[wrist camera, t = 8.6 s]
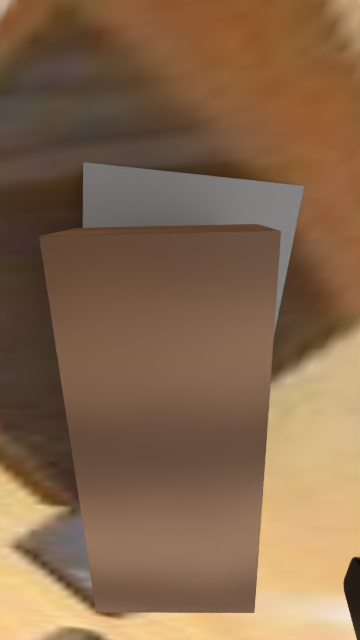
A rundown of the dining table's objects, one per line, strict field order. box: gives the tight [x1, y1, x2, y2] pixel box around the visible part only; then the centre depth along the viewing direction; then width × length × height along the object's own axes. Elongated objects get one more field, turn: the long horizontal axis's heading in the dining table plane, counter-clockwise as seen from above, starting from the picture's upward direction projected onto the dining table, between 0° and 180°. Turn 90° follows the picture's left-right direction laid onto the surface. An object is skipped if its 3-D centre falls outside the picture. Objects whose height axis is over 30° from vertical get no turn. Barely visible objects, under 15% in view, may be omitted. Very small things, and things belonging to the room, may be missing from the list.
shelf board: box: [39, 224, 281, 613], centre depth 12 cm, size 14×6×3 cm, turn 1°
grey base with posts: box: [83, 162, 304, 333], centre depth 17 cm, size 10×18×6 cm, turn 174°
